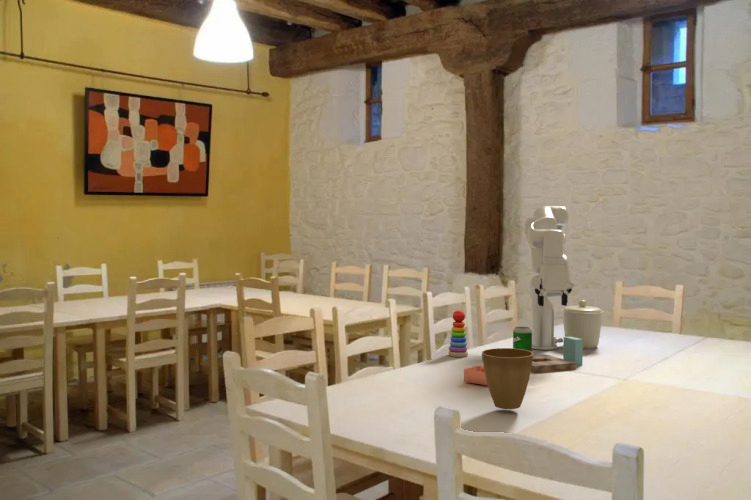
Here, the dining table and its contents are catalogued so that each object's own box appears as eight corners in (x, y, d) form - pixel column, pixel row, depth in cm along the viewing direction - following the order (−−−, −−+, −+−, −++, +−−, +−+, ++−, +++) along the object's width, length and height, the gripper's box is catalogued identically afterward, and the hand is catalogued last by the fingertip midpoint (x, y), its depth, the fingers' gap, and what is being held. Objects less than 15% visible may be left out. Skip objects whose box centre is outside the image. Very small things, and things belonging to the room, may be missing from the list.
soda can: (530, 355, 282) (530, 326, 282) (532, 358, 275) (533, 329, 275) (511, 355, 283) (512, 326, 283) (513, 358, 276) (514, 328, 275)
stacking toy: (468, 357, 277) (469, 311, 276) (449, 357, 277) (449, 311, 277) (466, 354, 285) (467, 309, 284) (447, 353, 285) (447, 309, 284)
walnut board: (545, 360, 271) (545, 350, 271) (575, 369, 255) (575, 358, 255) (507, 364, 264) (507, 353, 264) (535, 373, 248) (535, 362, 248)
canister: (551, 346, 305) (552, 298, 305) (583, 343, 313) (584, 297, 312) (580, 352, 289) (580, 303, 288) (612, 349, 297) (613, 301, 296)
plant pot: (496, 397, 212) (497, 346, 211) (541, 405, 202) (542, 351, 202) (471, 407, 200) (472, 352, 200) (517, 416, 191) (518, 359, 190)
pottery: (488, 385, 229) (488, 356, 229) (463, 381, 235) (464, 352, 235) (513, 376, 243) (514, 349, 243) (490, 373, 249) (490, 346, 249)
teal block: (570, 361, 269) (570, 336, 269) (582, 365, 263) (582, 339, 263) (563, 362, 268) (563, 337, 268) (575, 365, 262) (575, 339, 261)
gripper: (569, 261, 272) (568, 304, 272) (528, 261, 268) (527, 305, 269) (578, 262, 265) (577, 306, 265) (536, 262, 261) (536, 306, 261)
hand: (552, 305), depth 267 cm, fingers open, 9 cm apart
